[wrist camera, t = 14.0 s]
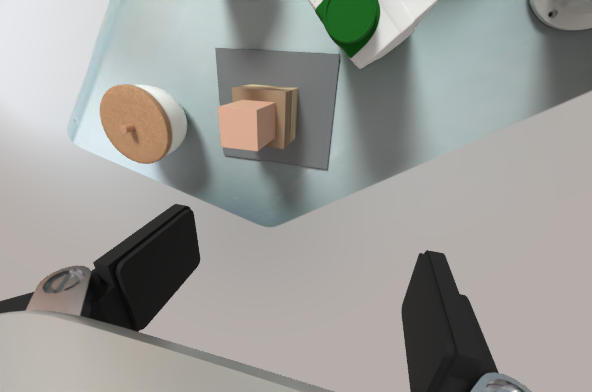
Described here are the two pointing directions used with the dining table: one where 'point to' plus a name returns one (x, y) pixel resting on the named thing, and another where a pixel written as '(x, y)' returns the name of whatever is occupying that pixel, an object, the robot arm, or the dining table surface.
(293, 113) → the oak slab
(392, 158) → the dining table surface
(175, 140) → the lidded bowl
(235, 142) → the terracotta block
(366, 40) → the milk carton
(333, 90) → the rubber mat
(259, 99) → the walnut slab
